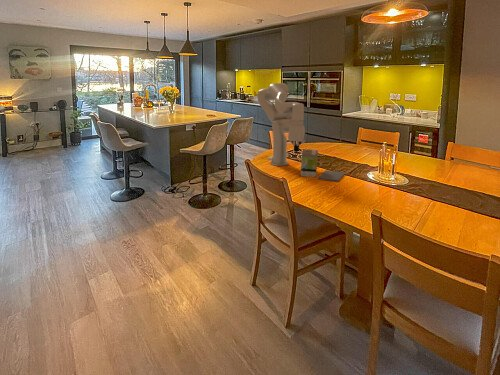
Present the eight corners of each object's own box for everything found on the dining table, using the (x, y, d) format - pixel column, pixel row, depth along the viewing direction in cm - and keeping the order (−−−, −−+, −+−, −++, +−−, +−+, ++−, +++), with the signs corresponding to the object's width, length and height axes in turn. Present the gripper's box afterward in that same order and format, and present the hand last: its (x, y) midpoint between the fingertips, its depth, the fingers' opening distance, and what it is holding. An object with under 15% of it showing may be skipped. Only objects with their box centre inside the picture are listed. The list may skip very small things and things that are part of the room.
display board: (317, 178, 213) (317, 177, 213) (325, 171, 228) (325, 170, 228) (337, 182, 208) (338, 180, 207) (345, 174, 223) (345, 172, 222)
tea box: (316, 177, 217) (317, 154, 212) (300, 176, 219) (301, 153, 214) (316, 170, 231) (318, 149, 226) (301, 169, 233) (302, 148, 228)
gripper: (284, 123, 219) (283, 151, 224) (306, 124, 212) (305, 153, 218) (288, 121, 225) (287, 149, 231) (310, 123, 218) (309, 151, 224)
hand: (296, 151), depth 224 cm, fingers closed
